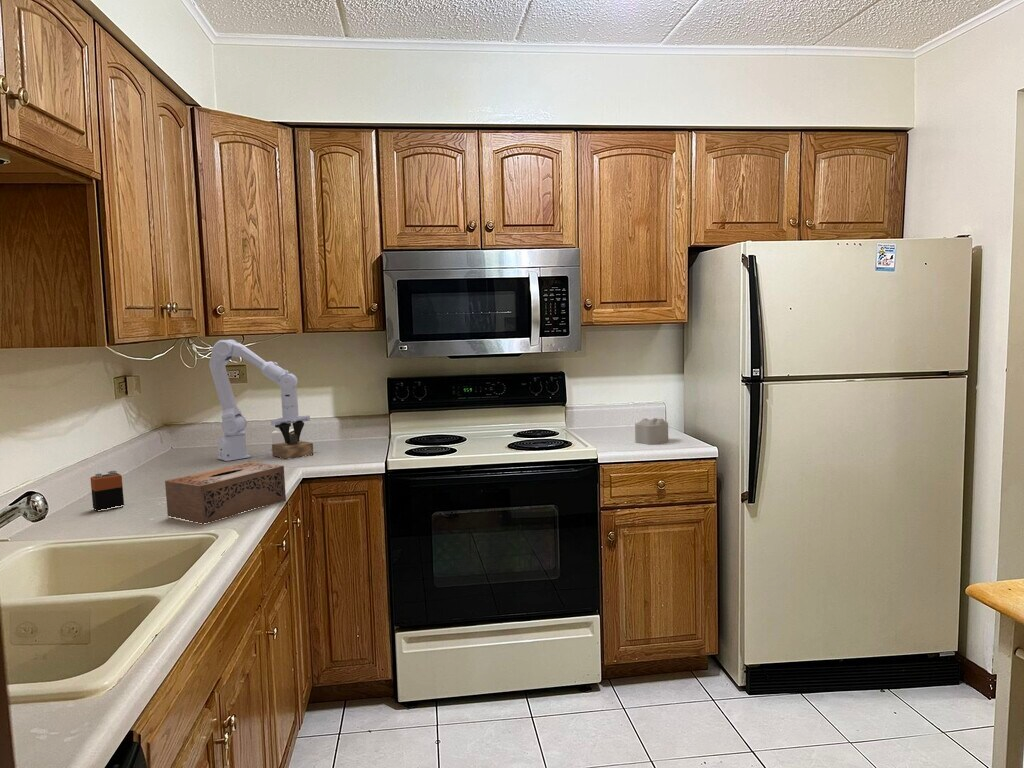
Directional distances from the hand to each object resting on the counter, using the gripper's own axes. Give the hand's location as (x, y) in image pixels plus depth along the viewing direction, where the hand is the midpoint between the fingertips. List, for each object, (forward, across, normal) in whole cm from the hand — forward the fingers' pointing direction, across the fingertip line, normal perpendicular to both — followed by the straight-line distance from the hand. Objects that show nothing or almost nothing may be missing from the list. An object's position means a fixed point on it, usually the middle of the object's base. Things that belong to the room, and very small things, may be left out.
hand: (292, 442), depth 261 cm
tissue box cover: (+6, -47, -60) cm, 76 cm away
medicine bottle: (+5, +5, +18) cm, 19 cm away
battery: (+5, -69, -32) cm, 76 cm away
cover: (+5, 0, 0) cm, 5 cm away
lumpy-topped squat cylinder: (+5, +102, -90) cm, 136 cm away
